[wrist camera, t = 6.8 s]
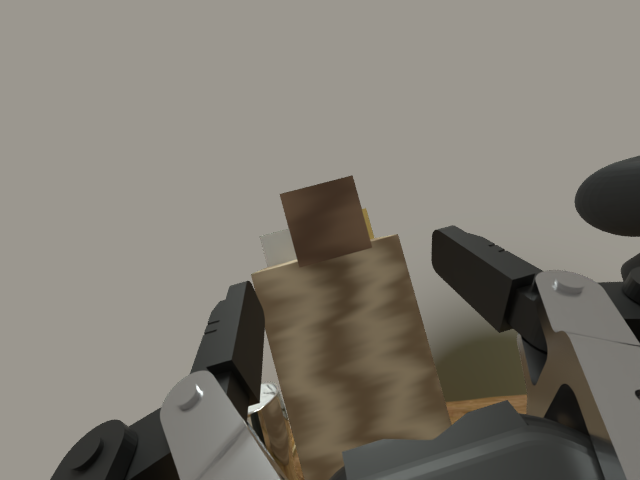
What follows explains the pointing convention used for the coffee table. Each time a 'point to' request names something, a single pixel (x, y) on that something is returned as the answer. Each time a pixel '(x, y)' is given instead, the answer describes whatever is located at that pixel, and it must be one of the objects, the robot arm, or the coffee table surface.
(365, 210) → the mustard cube
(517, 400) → the coffee table surface
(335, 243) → the brown wooden bar
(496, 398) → the coffee table surface
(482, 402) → the coffee table surface
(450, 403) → the coffee table surface
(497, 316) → the robot arm
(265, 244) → the grey cube
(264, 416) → the beer glass
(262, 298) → the oak pedestal
